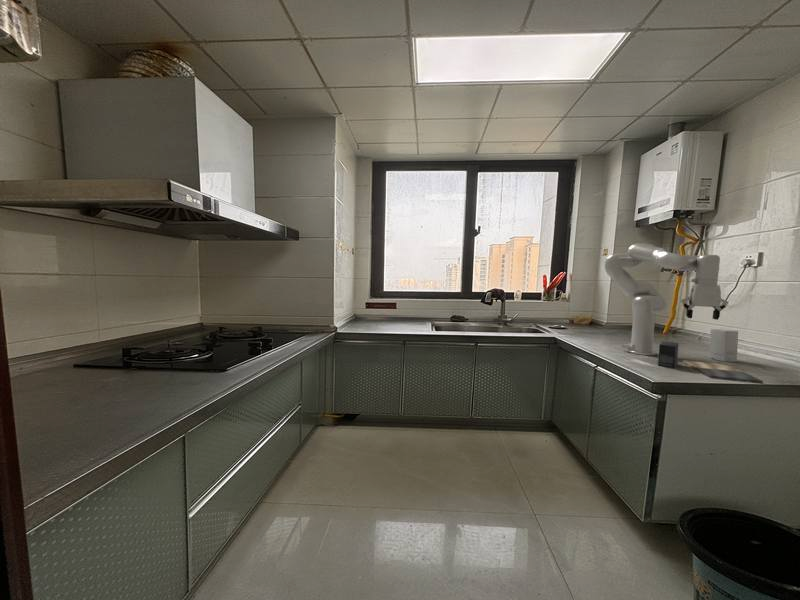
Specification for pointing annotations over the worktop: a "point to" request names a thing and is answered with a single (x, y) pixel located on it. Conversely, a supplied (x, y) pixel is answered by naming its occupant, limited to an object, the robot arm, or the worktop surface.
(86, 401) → the worktop surface
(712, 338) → the skincare box
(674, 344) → the small box
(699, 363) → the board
